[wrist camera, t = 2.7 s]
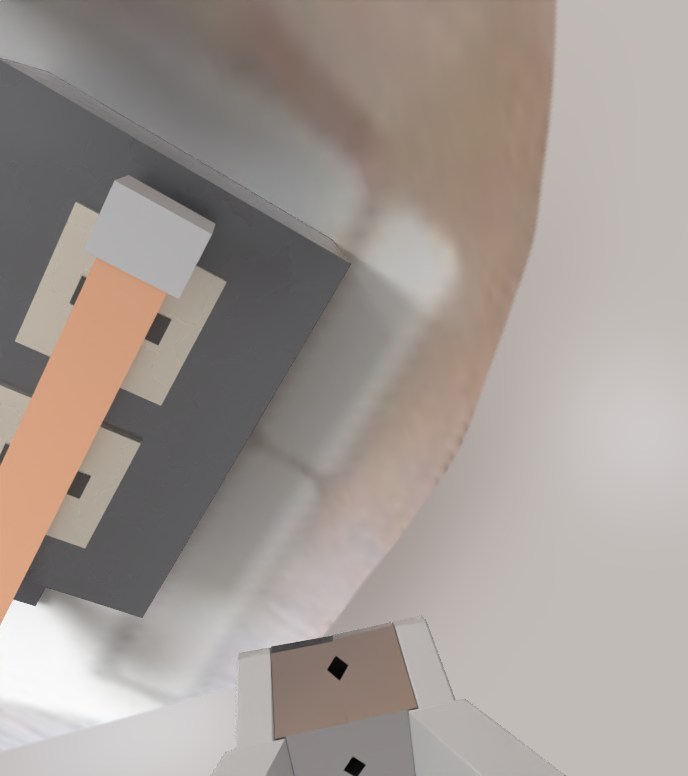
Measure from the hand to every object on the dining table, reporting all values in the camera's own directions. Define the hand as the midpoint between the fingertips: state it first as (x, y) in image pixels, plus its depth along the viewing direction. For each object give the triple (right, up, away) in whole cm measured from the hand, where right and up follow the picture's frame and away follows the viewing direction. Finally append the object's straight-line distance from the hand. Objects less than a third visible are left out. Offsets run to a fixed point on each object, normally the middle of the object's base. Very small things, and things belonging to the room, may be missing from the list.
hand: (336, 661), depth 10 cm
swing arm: (-12, +1, +14) cm, 19 cm away
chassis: (-12, +7, +21) cm, 25 cm away
